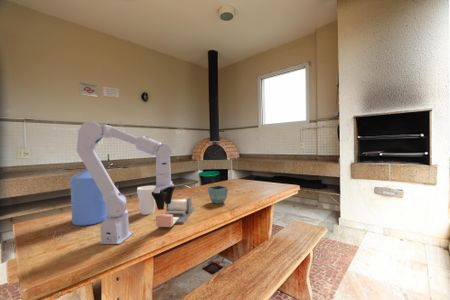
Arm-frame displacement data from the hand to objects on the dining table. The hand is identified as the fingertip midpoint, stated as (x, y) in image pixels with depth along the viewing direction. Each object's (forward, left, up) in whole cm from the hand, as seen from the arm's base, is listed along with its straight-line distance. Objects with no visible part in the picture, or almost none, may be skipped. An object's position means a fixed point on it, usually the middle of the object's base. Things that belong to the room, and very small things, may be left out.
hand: (164, 206), depth 85 cm
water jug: (+9, +39, -10) cm, 41 cm away
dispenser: (+16, 0, -9) cm, 18 cm away
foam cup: (+20, +17, -10) cm, 28 cm away
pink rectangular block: (+4, 0, -8) cm, 9 cm away
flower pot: (+39, -17, -10) cm, 43 cm away
